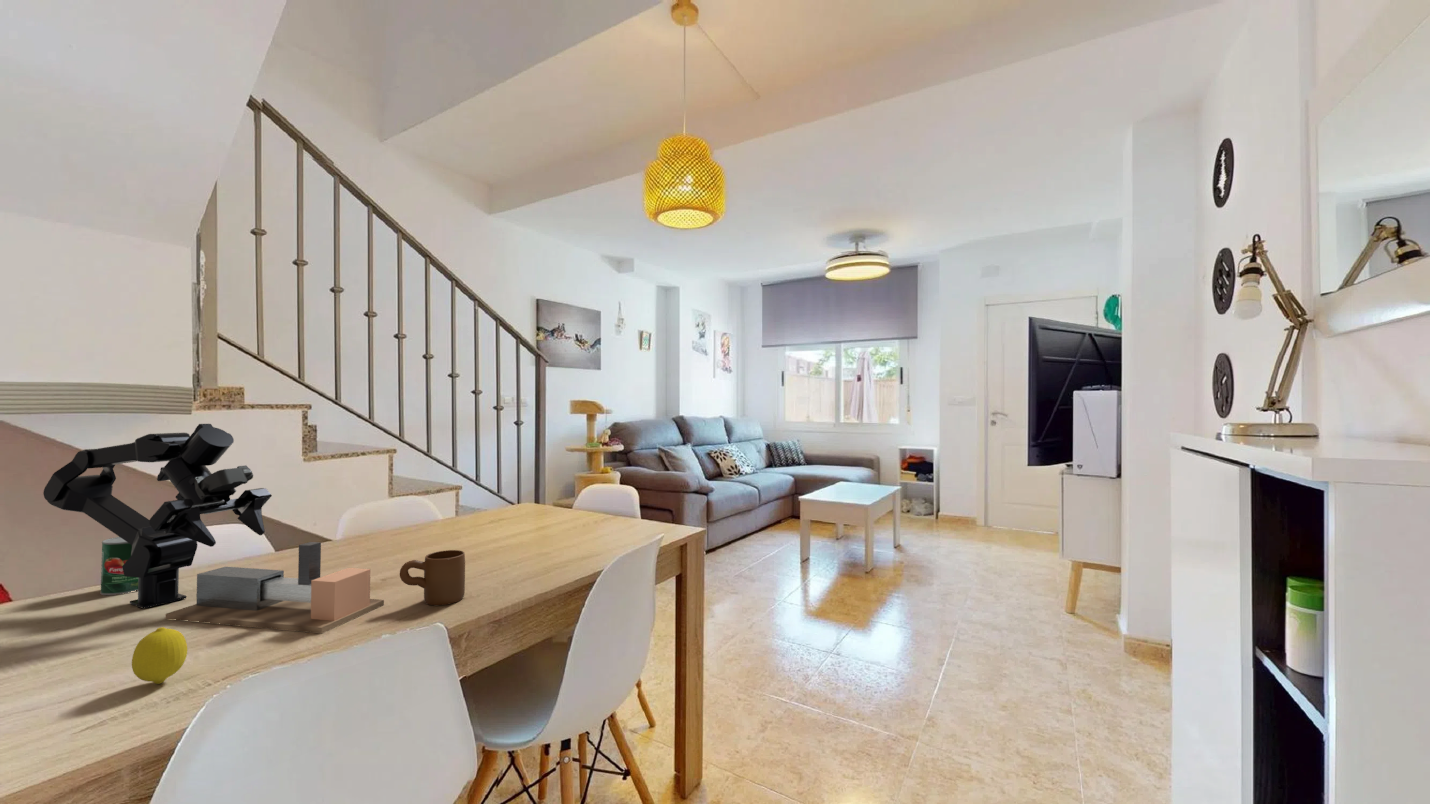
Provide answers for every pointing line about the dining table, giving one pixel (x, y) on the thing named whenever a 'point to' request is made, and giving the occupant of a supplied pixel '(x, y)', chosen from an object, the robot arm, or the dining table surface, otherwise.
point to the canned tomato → (116, 567)
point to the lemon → (159, 655)
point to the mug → (439, 576)
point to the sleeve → (234, 588)
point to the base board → (269, 616)
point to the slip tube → (298, 586)
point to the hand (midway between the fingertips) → (239, 539)
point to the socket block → (340, 593)
